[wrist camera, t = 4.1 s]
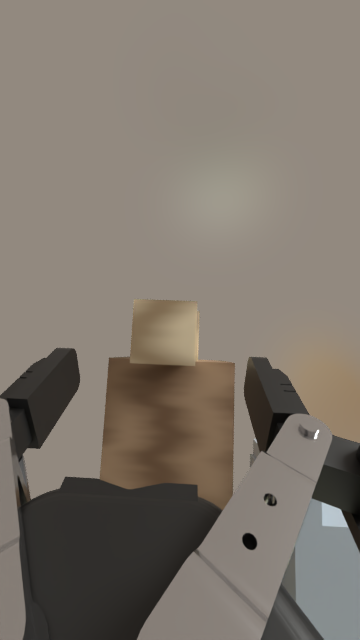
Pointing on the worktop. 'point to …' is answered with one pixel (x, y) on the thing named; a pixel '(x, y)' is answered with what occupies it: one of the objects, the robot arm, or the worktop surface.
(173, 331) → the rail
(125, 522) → the robot arm
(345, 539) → the holder
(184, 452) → the walnut block
